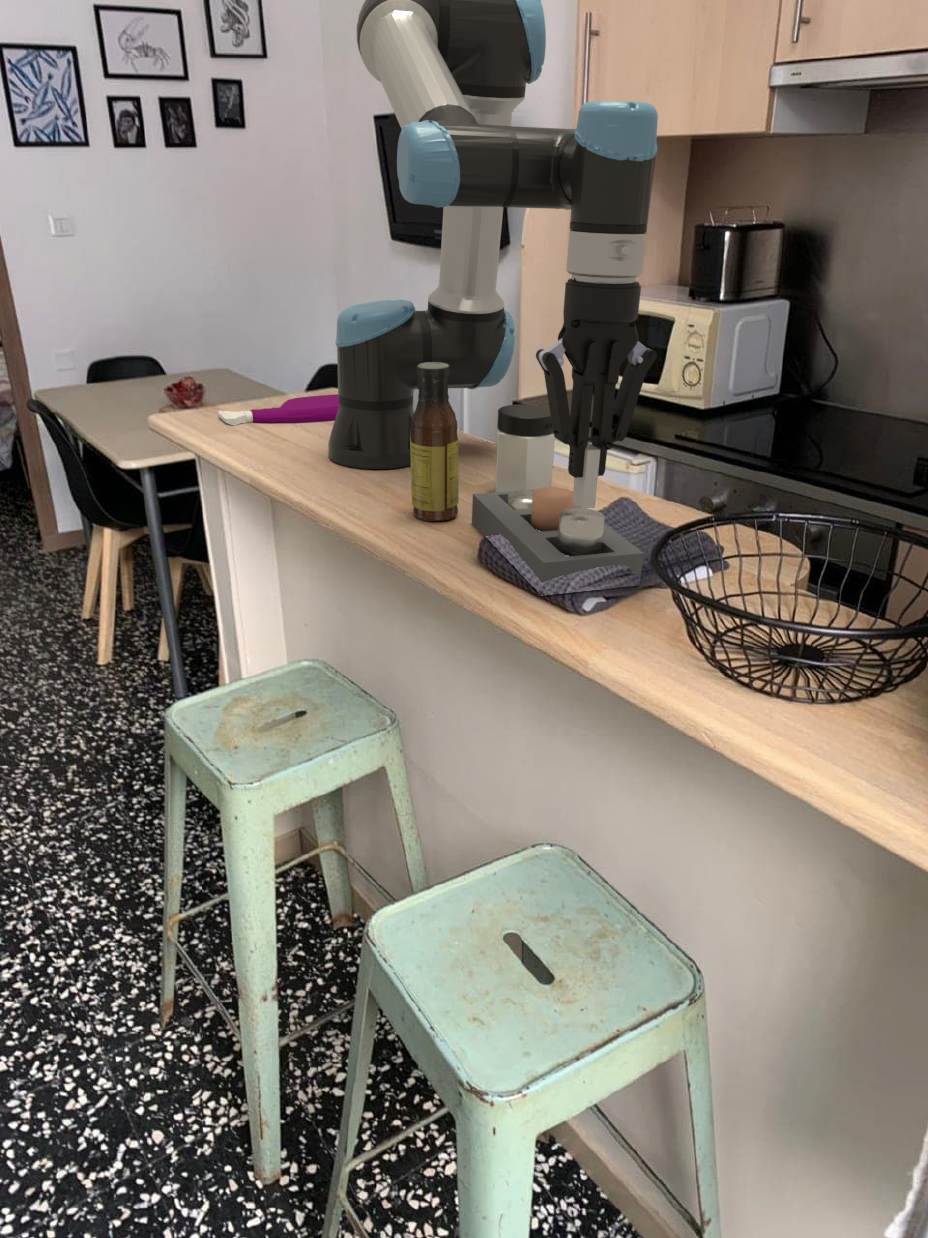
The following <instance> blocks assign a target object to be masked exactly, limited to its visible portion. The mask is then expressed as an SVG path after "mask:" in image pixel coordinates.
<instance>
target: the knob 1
mask: <svg viewBox="0 0 928 1238" xmlns="http://www.w3.org/2000/svg"><path fill="white" fill-rule="evenodd" d="M532 497H533V491H516V492H512V493H510V494H509V495H508V505H509V506H510V507H511V508H512V509H513V510H516V509H529V508H532Z"/></svg>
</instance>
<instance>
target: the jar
mask: <svg viewBox="0 0 928 1238" xmlns="http://www.w3.org/2000/svg"><path fill="white" fill-rule="evenodd" d="M496 427H497V430H496V431H497V434H496V435H497V436H496V455H495V456H496V457H495V474H494V475H495V477H494V492H506V491H520V490H534V489H537V488H542V487H553V486H552V485H553V473H554V472H553V471H554V462H555V446H556V443H555V442H556V438H555V437H554V434H553V427H552V421H551V414H550V408H549V406H548V407H547V406H543V405H537V404H522V403H521V404H520V403H519V404H508V405H504V406H501V407H500V408H498V410H497V426H496Z"/></svg>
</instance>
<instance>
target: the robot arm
mask: <svg viewBox="0 0 928 1238" xmlns="http://www.w3.org/2000/svg"><path fill="white" fill-rule="evenodd" d="M546 37H547V36H546V19H545V13H544V8H543V4H542V0H365V1H364V3H363V5H362V6H361V9H360V11H359V14H358V17H357V23H356V42H357V43H356V44H357V49H358V51H359V55H360V57H361V60H362V62H363V64H364V66H365V68H366V70H367V72H368V73H369V74H370V76H372V77H373V78H374V79H376V80H377V81H378V82H380V83H381V85H382V87H383V89H384V92H385V94H386V96H387V99H388V101H389V104H390V105H391V108H392V110H393V113H394V115H395V117H396V120H397V121H398V124H399V126H400V128H401V131H400V133H399V137H398V140H397V141H398V142H397V151H396V153H397V154H396V172H397V173H396V174H397V179H398V184H399V186H398V188H399V190H400V191H399V192H400V194H401V196H402V197H403V199H404V200H405V201H406V202H408V203H410V204H413V205H414V204H415V205H422V206H423V205H425V206H432V207H434V208H443V209H442V210H443V212H442V228H441V244H440V245H441V247H440V261H439V262H440V263H439V280H438V282H439V283H438V287H436V288H435V289H434V290H433V291H431V293H430V294H428V298H427V299H428V300H427V309H426V310H416V307H415V305H414V303H413V301H410V300H406V299H395V300H391V299H385V300H384V299H383V300H376V301H370V302H364V303H358V304H355V305H352V306H349V307H346V308H345V309H343V310H341V312H340V313H339V315H338V316H337V319H336V338H335V342H334V343H335V346H336V354H337V355H336V357H337V358H336V359H337V394H338V411H337V415H336V418H335V420H334V423H333V424H332V425H333V426H332V429H331V431H330V435H329V439H328V458H329V459H330V460H331V461H332V462H334V463H336V464H339V465H340V466H341V465H342V466H345V467H350V468H356V469H369V470H387V469H389V470H390V469H397V468H404V467H405V468H406V467H410V466H411V451H410V429H411V423H412V417H413V415H414V413H415V409H414V392H415V390H419V379H418V377H417V366H418V365H419V364H421V363H425V362H441V363H446V364H448V365H449V371H450V375H449V377H448V389H469V390H475V389H477V388H478V389H479V388H489V387H494V386H497V385H498V384H499V383H500V382H501V381H502V380H503V379H504V378H505V376H506V375H507V373H508V371H509V368H510V366H511V362H512V359H513V354H514V348H515V339H516V337H515V335H514V334H515V323H514V319H513V316H512V315H511V313H510V312H509V311H508V310H506V309H505V300H503V298H502V297H501V296H500V294H499V293H498V292H497V281H498V270H499V269H498V268H499V259H500V248H501V235H502V227H503V226H502V225H503V217H504V216H503V214H504V208H518V209H519V208H520V209H523V208H524V209H555V210H561V209H562V210H567V211H569V210H570V222H569V233H568V235H569V236H568V247H567V258H566V259H567V260H566V268H565V271H567V273H568V274H569V275H571V278H568V279H567V281H566V282H565V287H564V288H565V289H564V300H563V310H562V311H563V324H562V327H561V329H560V331H559V333H558V335H557V341H556V342H555V343H553V344H552V345H550V346H549V347H547V348H546V349H543V348H542V349H541V348H540V349H538V350H537V351H536V353H535V358H536V360H537V362H538V364H539V365H540V368H541V369H542V371H543V374H544V380H545V389H546V394H547V401H548V405H549V406H548V408H550V414H551V421H552V427H553V434H554V437H555V440H556V439H557V440H558V441H560V442H561V443H562V444H565V445H568V446H569V452H568V453H569V454H568V465H567V466H568V467H567V471H568V474H569V475H570V476H571V477H573V479H574V480H573V487H572V488H573V490H572V491H573V499H572V501H573V502H574V503H576V504H577V505H578V506H579V507H581V508H582V509H595V507H596V500H597V499H596V498H597V490H598V489H597V488H598V479H599V477H603V476H604V474H605V473H606V465H607V456H608V451H610V450H612V449H613V446H614V443H615V442H623V441H625V439H626V437H627V434H628V430H629V427H630V425H631V422H632V421H631V420H632V419H633V416H634V415H633V414H634V412H635V409H636V406H637V402H638V400H639V398H640V397H639V396H640V393H641V390H642V388H643V386H644V385H643V384H644V381H645V378H646V374H647V373H648V371H649V370H650V368H651V366H652V365H653V364H654V363H655V361H656V360H657V357H658V355H657V354H658V353H657V352H656V351H655V350H653V349H650V348H647V346H645V345H644V344H642V343H641V342H640V341H639V333H638V330H637V326H636V324H637V319H638V317H639V311H640V303H641V302H640V301H641V294H642V293H641V291H642V286H641V285H640V283H639V281H637V280H636V278H638V277H640V276H641V275H642V274H643V271H644V270H643V269H644V259H645V254H646V253H645V249H646V243H647V242H646V241H647V230H648V221H649V215H650V204H651V196H652V189H653V180H654V173H655V172H654V171H655V164H656V162H655V161H656V156H657V153H658V149H659V148H658V143H657V139H658V137H657V135H658V119H659V118H658V117H659V116H658V111H657V109H656V107H655V106H654V105H652V104H651V103H647V102H643V101H642V102H641V101H633V100H631V101H630V100H591V101H587V102H584V103H583V104H582V105H581V107H580V108H579V110H578V116H577V123H576V127H575V128H561V127H560V128H557V127H555V128H554V127H539V126H538V127H536V126H533V127H531V126H512V117H513V116H512V114H513V112H514V111H515V109H516V108H517V107H518V106H519V105H521V103H523V101H524V100H525V99H526V88H527V84H528V85H530V84H532V83H534V82H536V81H537V80H538V79H539V78H540V76H541V74H542V70H543V69H542V67H543V65H544V64H545V59H546V46H547V44H546V43H547V42H546V41H547V38H546ZM564 356H565V357H566V359H567V360H568V362H569V364H570V366H571V367H572V368H571V378H572V391H571V392H572V393H571V401H570V403H571V404H570V405H571V407H570V406H569V401H568V400H569V399H568V393H567V387H566V379H565V373H564V371H563V368H562V366H563V365H565V363H564V361H565V360H564ZM627 358H628V359H627ZM626 359H627V360H628V362H627V364H626V366H625V369H624V372H623V374H622V377H621V381H620V384H619V387H618V390H617V394H616V388H617V387H616V386H617V384H618V383H619V378H620V370H621V366H622V365H623V363H624V362H625V361H626ZM593 392H594V393H593ZM615 396H616V397H615ZM591 415H592V416H591ZM590 424H591V426H590ZM590 427H591V428H590ZM589 438H590V441H591V443H590V442H589Z"/></svg>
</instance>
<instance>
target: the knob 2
mask: <svg viewBox="0 0 928 1238" xmlns="http://www.w3.org/2000/svg"><path fill="white" fill-rule="evenodd" d="M605 517H606V516H605V514H603V513H602V512H600V511H598V510H596V509H592V508H586V509H582V508H571V509H566V510H563V511H561V512H560V516H559V528H558V541H557V549H558V550H559V551H560V552H561V553H563V554H565V555H569V556H581V555H591V554H600V553H601V549H602V539H603V529H604V523H605Z"/></svg>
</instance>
